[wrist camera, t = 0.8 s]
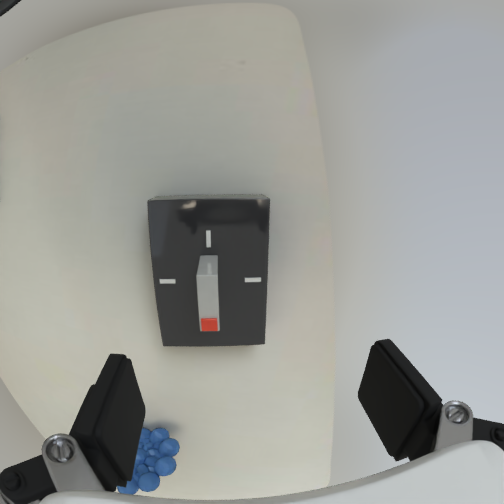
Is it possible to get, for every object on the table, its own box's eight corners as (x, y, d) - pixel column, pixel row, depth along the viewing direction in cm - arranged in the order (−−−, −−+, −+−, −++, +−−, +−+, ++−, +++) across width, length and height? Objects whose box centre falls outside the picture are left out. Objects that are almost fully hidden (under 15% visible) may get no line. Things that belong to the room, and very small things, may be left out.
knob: (200, 255, 24) (195, 276, 19) (218, 254, 24) (217, 276, 19) (202, 304, 25) (199, 333, 21) (219, 304, 25) (219, 333, 21)
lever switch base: (155, 196, 25) (146, 200, 22) (264, 194, 26) (270, 198, 23) (167, 330, 29) (162, 347, 26) (260, 328, 30) (265, 345, 27)
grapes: (127, 446, 35) (116, 505, 24) (105, 421, 33) (86, 483, 21) (192, 441, 35) (191, 507, 24) (173, 415, 33) (166, 488, 22)
